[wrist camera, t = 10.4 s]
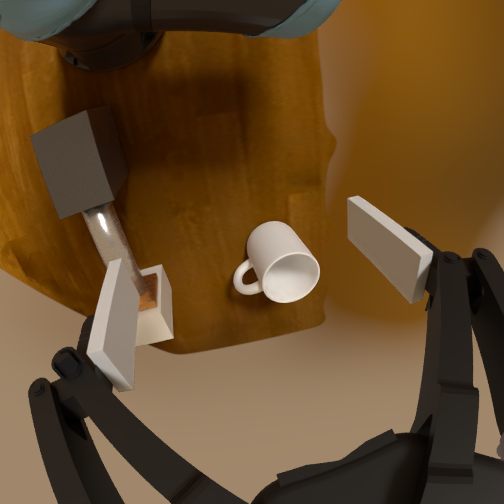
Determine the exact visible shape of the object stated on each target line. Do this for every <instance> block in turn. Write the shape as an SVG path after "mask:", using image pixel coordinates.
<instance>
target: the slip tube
mask: <svg viewBox="0 0 504 504" xmlns="http://www.w3.org/2000/svg"><path fill="white" fill-rule="evenodd" d="M81 213H82V215H83V218H84V220H85V222H86V225H87V227H88V229H89V232H90V234H91V236H92V239H93V241H94V243H95V245H96V247H97V250H98V252H99V254H100V256H101V258H102V260H103V262H104V265H105V267H106V269H108V265H109V262H110V261H113V260H117V259H120V258H122V260H123V262H124V264H125V266H126V268H127V271H128V273H129V275H130V277H131V279H132V281H133V283H134V285H135V287H136V290H137V292H138V294H139V296H140V299H139V309H138V311H141V310H145V309H149V308H153V307H157V297H158V276H157V274H156V273H152V274H149V275H145V276H142V274H141V272H140V270H139V267H138V265H137V263H136V260H135V258H134V256H133V253H132V251H131V249H130V246H129V244H128V241H127V239H126V236H125V234H124V231H123V229H122V226H121V224H120V221H119V219H118V216H117V213H116V211H115V208H114V205H113V203H112V201H110V202H107V203H104V204H101V205H98V206H95V207H93V208H90V209H87V210H84V211H82V212H81Z"/></svg>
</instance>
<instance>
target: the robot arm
mask: <svg viewBox="0 0 504 504" xmlns="http://www.w3.org/2000/svg"><path fill="white" fill-rule="evenodd" d="M340 2H341V0H0V27H1V28H2V29H3V30H5V31H6V32H8V33H10V34H12V35H14V36H15V37H17V38H18V39H22V40H24V41H26V40H27V41H29V42H30V41H35V42H39V43H43V44H47V45H51V46H54V47H57V49H58V51H59V53H60V54H61V56H62V57H63V58H64V59H65V60H66V61H67V62H68V63H70V64H71V65H73V66H75V67H77V68H79V69H83V70H87V71H92V72H108V71H113V70H117V69H120V68H123V67H125V66H128V65H130V64H132V63H134V62H135V61H137V60H138V59H140V58H141V57H143V56H144V55H145V54H146V53H147V52H148V51H150V50H151V48H152V47H153V46H154V45H155V44H156V43H157V41H158V40H159V38H160V37H161V35H162V33H163V31H206V32H225V33H237V34H242V35H243V36H246V37H251V38H256V37H263V36H264V37H274V38H282V39H291V38H298V37H301V36H304V35H307V34H309V33H311V32H312V31H314V30H315V29H317V28H318V27H319V26H321V25H322V24H323V23H324V22H325V21H326V20H327V19H328V18H329V17H330V16H331V14H332V13H333V12H334V11H335V9H336V8H337V7H338V5H339V4H340ZM347 202H348V239H349V240H350V241H351V242H352V243H353V244H354V245H355V246H356V247H357V248H358V249H359V250H360V251H361V252H362V253H363V254H364V255H365V256H366V257H367V258H368V259H369V260H370V261H371V262H372V263H373V264H374V265H375V266H376V267H377V268H378V269H379V270H380V271H381V273H382V274H383V275H384V276H385V277H386V278H387V279H388V280H389V281H390V282H391V283H392V284H393V285H394V286H395V287H396V288H397V290H398V291H399V292H400V293H401V294H402V295H403V296H404V297H405V298H406V299H407V300H408V302H409V303H410V304H412V303H415V302H417V301H419V300H422V299H423V296H424V291H425V290H426V291H427V292H428V293H429V294H430V295H429V298H428V302H427V305H426V309H425V311H427V310H428V318H427V319H428V320H427V334H426V347H425V357H424V366H423V374H422V381H421V388H420V395H419V401H418V406H417V412H416V417H415V420H414V423H413V425H412V427H411V430H410V433H397V434H394V432H393V430H392V429H391V430H388V431H387V432H384V433H382V434H380V435H378V436H376V437H374V438H372V439H370V440H368V441H366V442H365V443H363V444H362V445H361V446H359V447H358V448H357V449H355V450H354V451H353V452H351V453H350V454H349V455H347V456H346V457H345V458H343V459H341V460H339V461H334V462H327V463H319V464H311V465H305V466H302V467H299V468H296V469H293V470H289V471H286V472H282V473H279V474H277V477H278V479H277V480H276V481H274V482H272V483H270V484H269V485H268V486H266V487H265V488H264V489H263V490H262V491H260V493H259V494H258V495H257V496H256V497H255V499H254V500H253V501H252V503H251V504H504V271H503V269H502V268H501V266H500V264H499V263H498V261H497V259H496V258H495V256H494V255H493V254H492V253H491V252H490V251H489V250H487V249H484V248H476V249H474V250H473V253H472V257H471V258H461V257H460V256H459V255H458V254H456V253H454V252H450V251H449V252H447V251H445V252H441V251H440V250H439V249H437V248H436V247H435V246H434V245H433V244H431V243H430V242H429V241H427V240H426V239H425V238H423V237H422V236H421V235H420V234H418V233H417V232H416V231H414V230H412V229H410V228H407V227H404V228H402V227H401V226H400V225H398V224H397V223H396V222H394V221H393V220H392V219H390V218H389V217H388V216H386V215H385V214H383V213H382V212H381V211H379V210H378V209H377V208H375V207H374V206H372V205H371V204H370V203H368V202H367V201H365V200H364V199H363V198H361V197H359V196H355V197H350V198H348V199H347ZM139 299H140V296H139V294H138V292H137V290H136V287H135V285H134V283H133V281H132V279H131V277H130V275H129V273H128V271H127V268H126V266H125V264H124V262H123V260H122V258H120V259H117V260H113V261H110V262H109V265H108V269H107V272H106V276H105V279H104V283H103V286H102V290H101V293H100V297H99V301H98V305H97V309H96V313H95V315H91V316H88V317H87V319H86V320H85V322H84V323H83V326H82V330H81V334H80V337H79V341H78V346H77V350H75V349H74V348H73V347H65V348H62V349H61V350H59V351H58V352H57V353H56V354H55V356H54V357H53V359H52V364H51V365H52V368H53V370H54V371H55V372H56V373H57V374H58V375H59V376H60V379H58V380H57V381H54V382H52V383H50V382H49V381H48V380H47V379H46V378H39V379H37V380H35V381H34V382H33V383H32V384H31V386H30V388H29V391H28V397H29V403H30V408H31V414H32V418H33V423H34V428H35V432H36V436H37V440H38V444H39V448H40V452H41V455H42V459H43V461H44V465H45V468H46V472H47V475H48V477H49V480H50V483H51V486H52V489H53V492H54V494H55V497H56V499H57V502H58V504H125V503H124V501H123V500H122V498H121V496H120V495H119V493H118V491H117V489H116V487H115V486H114V484H113V482H112V480H111V478H110V476H109V474H108V472H107V470H106V468H105V466H104V464H103V462H102V460H101V458H100V456H99V454H98V451H97V449H96V447H95V445H94V443H93V440H92V438H91V435H90V433H89V431H88V428H87V426H86V423H85V421H84V418H86V417H88V416H89V417H90V418H91V420H92V421H93V422H94V423H95V425H96V426H97V427H98V428H99V430H100V431H101V432H102V433H103V434H104V436H105V437H106V438H107V439H108V440H109V442H110V443H111V444H112V445H113V446H114V447H115V448H116V450H117V451H118V452H119V453H120V454H121V455H122V456H123V457H124V458H125V459H126V460H127V461H128V462H129V463H130V465H131V466H132V467H134V469H135V470H136V471H137V472H139V474H140V475H141V476H142V477H143V478H144V479H145V480H146V481H148V482H149V483H150V484H151V485H152V486H153V487H154V488H155V489H156V490H157V491H158V492H160V493H161V494H162V495H163V496H164V497H165V498H166V499H167V500H169V502H170V503H171V504H248V503H247V502H245V501H243V500H242V499H240V498H239V497H237V496H235V495H234V494H232V493H231V492H229V491H228V490H226V489H225V488H223V487H222V486H220V485H219V484H217V483H216V482H215V481H213V480H212V479H210V478H209V477H207V476H206V475H205V474H203V473H202V472H200V471H199V470H198V469H196V468H195V467H194V466H192V465H191V464H190V463H189V462H187V461H186V460H185V459H183V458H182V457H181V456H179V455H178V454H177V453H176V452H175V451H174V450H172V449H171V448H170V447H169V446H168V445H166V444H165V443H164V442H163V441H162V440H161V439H159V438H158V437H157V436H156V435H155V434H154V433H153V432H152V431H151V430H149V429H148V428H147V427H146V426H145V425H144V424H143V423H142V422H141V421H140V420H138V418H137V417H135V415H134V414H133V413H131V412H130V411H129V410H128V409H127V408H126V407H125V406H124V405H123V404H122V403H121V401H120V400H118V398H117V397H116V396H115V395H114V394H113V393H112V388H113V386H114V387H115V388H116V389H117V390H118V392H123V391H129V390H134V370H135V369H134V368H135V349H136V333H137V320H138V309H139ZM471 325H472V327H471ZM472 328H473V331H474V334H475V337H476V340H477V343H478V347H479V350H480V353H481V357H482V360H483V364H484V368H485V372H486V375H487V380H488V384H489V388H490V393H491V397H492V402H493V407H494V413H495V417H496V422H497V425H498V429H499V432H500V435H501V439H500V444H499V446H498V447H497V454H498V456H500V457H501V460H500V459H496V458H493V457H489V456H486V455H482V454H479V453H476V452H474V451H475V442H476V435H477V424H478V409H479V390H478V388H475V387H474V386H473V345H472Z"/></svg>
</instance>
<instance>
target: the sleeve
mask: <svg viewBox="0 0 504 504" xmlns="http://www.w3.org/2000/svg"><path fill="white" fill-rule="evenodd" d="M30 137H31V141H32V144H33V147H34V151H35V154H36V157H37V160H38V163H39V166H40V169H41V172H42V175H43V177H44V180H45V183H46V186H47V188H48V191H49V194H50V196H51V199H52V201H53V204H54V206H55V209H56V211H57V213H58V216H59V218H60V219H63V218H66V217H68V216H71V215H73V214H76V213H79V212H82V211H84V210H87V209H90V208H93V207H95V206H98V205H101V204H104V203H107V202H110V201H113V200H115V198H116V196H117V194H118V192H119V190H120V188H121V186H122V185H123V183H124V181H125V179H126V177H127V176H128V174H129V170H128V167H127V163H126V160H125V157H124V154H123V150H122V147H121V143H120V140H119V136H118V133H117V129H116V125H115V121H114V118H113V114H112V110H111V106H110V105H107V106H102V107H97V108H92V109H88V110H85V111H82V112H80V113H78V114H75V115H73V116H71V117H69V118H66V119H64V120H62V121H60V122H58V123H56V124H53V125H51V126H49V127H47V128H45V129H43V130H41V131H39V132H37V133H35V134H33V135H32V136H30Z"/></svg>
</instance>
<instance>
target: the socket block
mask: <svg viewBox="0 0 504 504" xmlns="http://www.w3.org/2000/svg"><path fill="white" fill-rule="evenodd" d="M140 272H141V274H142V276H145V275H149V274H152V273H156V274H157V276H158V297H157V307H153V308H149V309H145V310H141V311H138V320H137V333H136V347H137V346H142V345H147V344H151V343H156V342H160V341H164V340H168V339H172V338H174V336H173V316H172V288H171V286H170V283H169V281H168V279H167V276H166V274H165V271H164V269H163V266H162V264H161V265H157V266H154V267H150V268H147V269H143V270H140Z"/></svg>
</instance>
